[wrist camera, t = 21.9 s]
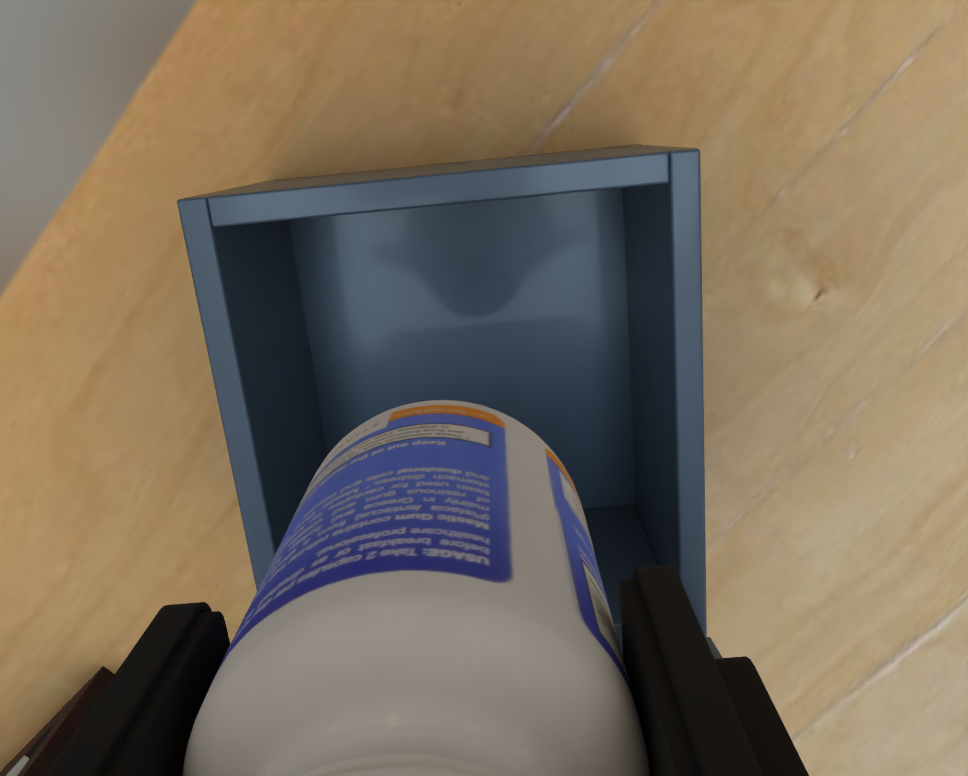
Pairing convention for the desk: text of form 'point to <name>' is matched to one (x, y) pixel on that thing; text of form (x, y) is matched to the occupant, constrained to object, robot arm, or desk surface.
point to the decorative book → (57, 730)
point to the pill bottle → (427, 619)
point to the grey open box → (470, 329)
